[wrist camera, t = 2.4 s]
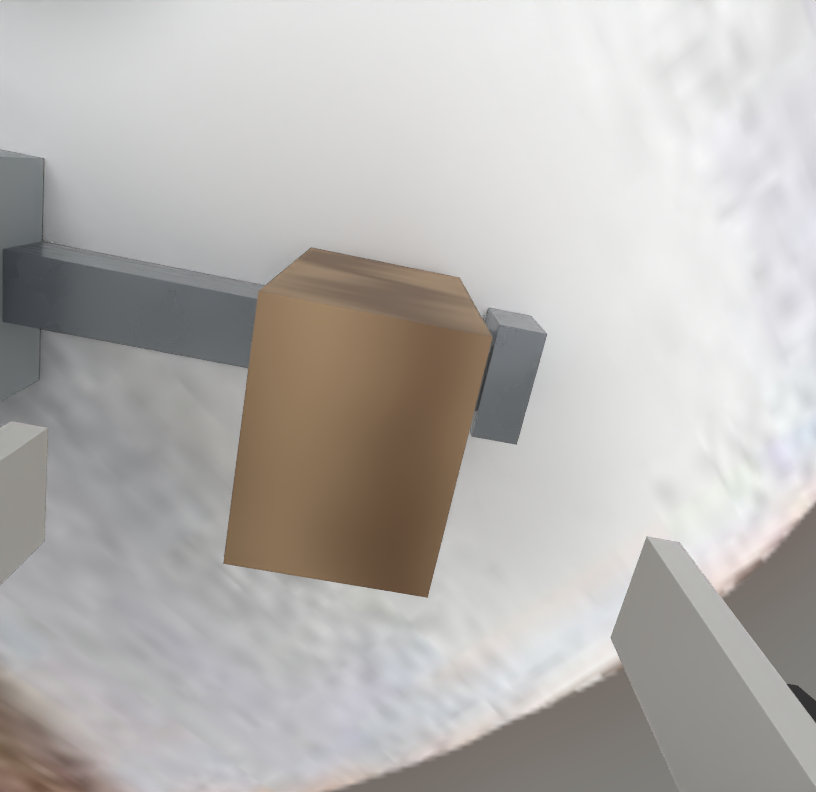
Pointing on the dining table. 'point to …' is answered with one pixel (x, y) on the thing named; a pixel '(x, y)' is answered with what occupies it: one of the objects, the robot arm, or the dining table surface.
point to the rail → (218, 319)
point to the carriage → (354, 421)
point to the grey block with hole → (3, 228)
